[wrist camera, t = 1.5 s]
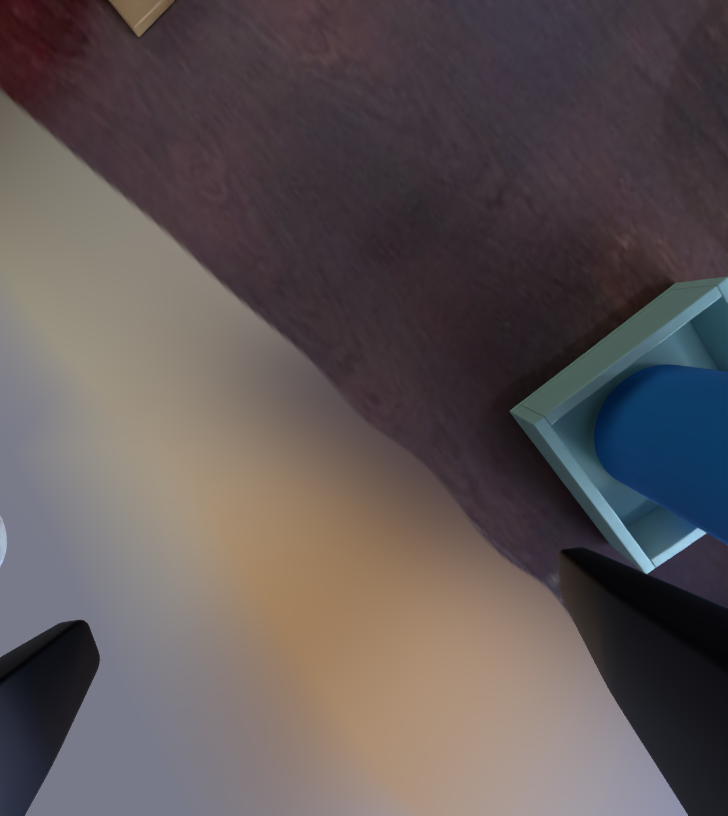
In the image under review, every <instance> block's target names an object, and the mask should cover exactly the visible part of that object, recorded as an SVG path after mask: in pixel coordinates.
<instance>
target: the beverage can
mask: <svg viewBox="0 0 728 816" xmlns="http://www.w3.org/2000/svg"><path fill="white" fill-rule="evenodd" d="M593 441H594V448H595V452H596V455H597V457H598V460H599V462H600V463H601V465H602V466H603V468H604V469H605V470H606V471H607V473H609V474H610V475H611V476H612V477H613V478H615V479H616V480H618V481H619V482H621V483H622V484H624V485H626V486H628V487H629V488H631V489H633V490H634V491H636V492H638V493H640V494H641V495H643V496H645V497H646V498H648V499H650V500H651V501H653V502H655V503H657V504H658V505H660V506H662V507H663V508H665V509H667V510H668V511H670V512H672V513H674V514H675V515H677V516H679V517H680V518H682V519H684V520H686V521H687V522H689V523H691V524H692V525H694V526H696V527H697V528H699V529H701V530H703V531H704V532H706V533H708V534H709V535H711V536H713V537H714V538H716V539H718V540H720V541H721V542H723V543H725V544H726V545H728V372H727V371H719V370H712V369H704V368H696V367H688V366H680V365H669V364H665V365H656V366H651V367H647V368H644V369H641V370H639V371H637V372H635V373H633V374H631V375H629V376H628V377H626V378H625V379H623V380H622V381H621V382H620V383H619V384H617V385H616V386H615V387H614V388H613V389H612V390H611V392H610V393H609V394H608V396H607V397H606V398H605V400H604V401H603V403H602V405H601V407H600V409H599V411H598V413H597V417H596V420H595V424H594V431H593Z"/></svg>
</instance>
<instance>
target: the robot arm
mask: <svg viewBox="0 0 728 816" xmlns="http://www.w3.org/2000/svg"><path fill="white" fill-rule="evenodd" d="M558 562H559V578H560V591H561V595H562V598H563V601H564V603H565V605H566V607H567V609H568V611H569V613H570V615H571V617H572V619H573V621H574V623H575V625H576V627H577V629H578V631H579V633H580V635H581V637H582V639H583V640H584V642H585V644H586V646H587V648H588V650H589V652H590V654H591V656H592V658H593V660H594V662H595V664H596V666H597V668H598V670H599V672H600V674H601V676H602V677H603V679H604V681H605V683H606V685H607V687H608V688H609V690H610V692H611V694H612V695H613V697H614V698H615V700H616V702H617V704H618V705H619V707H620V708H621V710H622V711H623V713H624V715H625V716H626V718H627V719H628V721H629V723H630V724H631V726H632V727H633V729H634V730H635V732H636V734H637V735H638V737H639V738H640V740H641V742H642V743H643V745H644V746H645V748H646V749H647V751H648V753H649V754H650V756H651V757H652V759H653V760H654V762H655V763H656V765H657V767H658V768H659V770H660V772H661V773H662V775H663V776H664V778H665V779H666V781H667V783H668V784H669V785H670V787H671V789H672V790H673V792H674V794H675V795H676V797H677V798H678V800H679V801H680V803H681V805H682V806H683V808H684V809H685V811H686V812H687V814H688V816H728V608H725V607H723V606H720V605H718V604H716V603H713V602H711V601H709V600H706V599H704V598H702V597H699V596H697V595H695V594H692V593H690V592H688V591H685V590H683V589H681V588H678V587H676V586H674V585H671V584H669V583H666V582H664V581H662V580H659V579H657V578H655V577H652V576H650V575H648V574H645V573H643V572H641V571H638V570H636V569H634V568H631V567H629V566H627V565H624V564H622V563H620V562H617V561H615V560H612V559H610V558H608V557H605V556H603V555H601V554H598V553H596V552H594V551H591V550H589V549H587V548H584V547H576V548H570V549H563V550H561V551H560V552H559V556H558ZM99 661H100V655H99V652H98V649H97V646H96V644H95V641H94V638H93V635H92V633H91V630H90V627H89V625H88V623H86V622H85V621H84V620H75V621H68V622H62V623H59V624H57V625H55V626H54V627H52V628H50V629H48V630H47V631H45V632H43V633H41V634H40V635H38V636H36V637H35V638H33V639H31V640H29V641H28V642H26V643H25V644H22V645H21V646H19V647H17V648H16V649H14V650H12V651H11V652H9V653H7V654H5V655H4V656H2V657H1V658H0V816H25V814H26V812H27V810H28V809H29V807H30V805H31V803H32V801H33V800H34V798H35V796H36V794H37V793H38V791H39V789H40V787H41V785H42V783H43V782H44V780H45V778H46V776H47V774H48V772H49V770H50V769H51V767H52V765H53V763H54V761H55V758H56V757H57V754H58V752H59V751H60V748H61V747H62V744H63V742H64V740H65V738H66V736H67V734H68V731H69V729H70V727H71V725H72V723H73V721H74V719H75V717H76V715H77V712H78V710H79V708H80V706H81V704H82V702H83V699H84V698H85V695H86V693H87V691H88V689H89V687H90V685H91V682H92V680H93V678H94V676H95V674H96V672H97V669H98V666H99Z"/></svg>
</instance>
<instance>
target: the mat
mask: <svg viewBox="0 0 728 816" xmlns="http://www.w3.org/2000/svg"><path fill="white" fill-rule="evenodd" d="M174 1H175V0H109V2H110V3H111V4H112V5H113V7H114V8H115V9H116V10H117V12H118V13H119V14H120V15H121V17H122V18H123V19H124V20H125V22H126V23H127V24H128V25H129V27H130V28H131V29H132V30H133V32H134V33H135V34H136V35H137V36H138V37H140V36H141V35H142V34H143V33H144V32H145V31H146V30H147V29H148V28H149V27H150V26H151V25H152V24H153V23H154V22H155V21H156V20H157V19H158V18H159V17H160V15H161V14H162V13H163V12H164V11H165V10H166V9H167V8H168V7H169V6H170V5H171V4H172V3H173V2H174Z"/></svg>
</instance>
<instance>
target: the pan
mask: <svg viewBox="0 0 728 816" xmlns="http://www.w3.org/2000/svg"><path fill="white" fill-rule="evenodd" d="M665 364H669V365H680V366H688V367H696V368H704V369H712V370H719V371H727V372H728V277H720V278H712V279H704V280H696V281H688V282H677V283H675V284H673V285H672V286H671V287H670V288H668V289H667V290H666V291H664V292H663V293H662V294H661V295H659V296H658V297H657V298H655V299H654V300H653V301H651V302H650V303H649V304H648V305H646V306H645V307H644V308H642V309H641V310H640V311H638V312H637V313H636V314H635V315H633V316H632V317H631V318H629V319H628V320H627V321H625V322H624V323H623V324H622V325H620V326H619V327H618V328H616V329H615V330H614V331H612V332H611V333H610V334H609V335H607V336H606V337H605V338H603V339H602V340H601V341H600V342H598V343H597V344H596V345H594V346H593V347H592V348H590V349H589V350H588V351H587V352H585V353H584V354H583V355H581V356H580V357H579V358H577V359H576V360H575V361H574V362H572V363H571V364H570V365H568V366H567V367H566V368H564V369H563V370H562V371H561V372H559V373H558V374H557V375H555V376H554V377H553V378H551V379H550V380H549V381H548V382H546V383H545V384H544V385H542V386H541V387H540V388H538V389H537V390H536V391H535V392H533V393H532V394H531V395H529V396H528V397H527V398H526V399H524V400H523V401H522V402H520V403H519V404H518V405H516V406H515V407H514V408H513V409H511V410H510V411H509V412H510V413H511V414H512V416H513V417H514V418H515V420H516V421H517V422H518V424H519V425H520V426H521V428H522V429H523V430H524V432H525V433H526V434H527V435H528V437H529V438H530V439H531V441H532V442H533V443H534V445H535V446H536V447H537V449H538V450H539V451H540V453H541V454H542V455H543V457H544V458H545V459H546V461H547V462H548V463H549V465H550V466H551V467H552V469H553V470H554V471H555V473H556V474H557V475H558V476H559V478H560V479H561V480H562V482H563V483H564V484H565V486H566V487H567V488H568V490H569V491H570V492H571V494H572V495H573V496H574V498H575V499H576V500H577V502H578V503H579V504H580V506H581V507H582V508H583V510H584V511H585V512H586V514H587V515H588V516H589V517H590V519H591V520H592V521H593V523H594V524H595V525H596V527H597V528H598V529H599V531H600V532H601V533H602V535H603V536H604V537H605V539H606V540H607V541H608V543H609V544H610V545H611V546H612V547H614V548H615V549H616V550H617V551H618V552H619V553H621V554H622V555H623V556H624V557H625V558H627V559H628V560H629V561H630V562H631V563H632V564H634V565H635V566H636V567H637V568H638V569H639V570H641V571H642V572H643V573H645V574H647V573H649V572H650V571H652V570H653V569H654V568H655V567H658V566H659V565H661V564H662V563H664V562H665V561H666V560H668V559H669V558H671V557H672V556H674V555H675V554H677V553H678V552H680V551H681V550H683V549H684V548H685V547H687V546H688V545H690V544H691V543H693V542H694V541H696V540H697V539H699V538H700V537H702V536H703V535H704V534H706V532H704V531H703V530H701V529H699V528H697V527H696V526H694V525H692V524H691V523H689V522H687V521H686V520H684V519H682V518H680V517H679V516H677V515H675V514H674V513H672V512H670V511H668V510H667V509H665V508H663V507H662V506H660V505H658V504H657V503H655V502H653V501H651V500H650V499H648V498H646V497H645V496H643V495H641V494H640V493H638V492H636V491H634V490H633V489H631V488H629V487H628V486H626V485H624V484H622V483H621V482H619V481H618V480H616V479H615V478H613V477H612V476H611V475H610V474H609V473H607V471H606V470H605V469H604V468H603V466H602V465H601V463H600V462H599V460H598V457H597V455H596V452H595V448H594V441H593V431H594V424H595V420H596V417H597V413H598V411H599V409H600V407H601V405H602V403H603V401H604V400H605V398H606V397H607V396H608V394H609V393H610V392H611V390H612V389H613V388H614V387H615V386H616V385H617V384H619V383H620V382H621V381H622V380H623V379H625V378H626V377H628V376H629V375H631V374H633V373H635V372H637V371H639V370H641V369H644V368H647V367H651V366H656V365H665Z"/></svg>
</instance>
